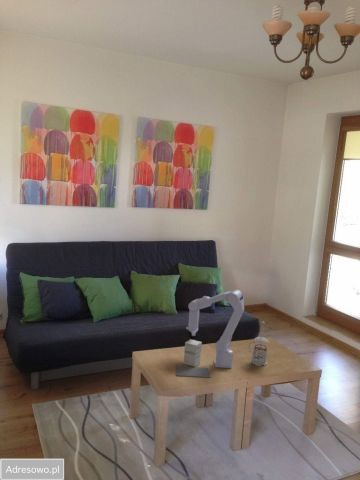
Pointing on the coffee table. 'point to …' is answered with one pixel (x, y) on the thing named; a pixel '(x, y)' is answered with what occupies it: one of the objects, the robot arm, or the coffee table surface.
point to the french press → (259, 359)
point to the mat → (192, 371)
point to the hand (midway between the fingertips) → (191, 342)
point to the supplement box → (192, 352)
